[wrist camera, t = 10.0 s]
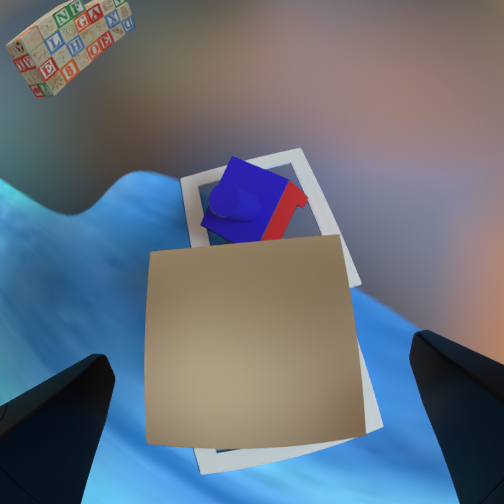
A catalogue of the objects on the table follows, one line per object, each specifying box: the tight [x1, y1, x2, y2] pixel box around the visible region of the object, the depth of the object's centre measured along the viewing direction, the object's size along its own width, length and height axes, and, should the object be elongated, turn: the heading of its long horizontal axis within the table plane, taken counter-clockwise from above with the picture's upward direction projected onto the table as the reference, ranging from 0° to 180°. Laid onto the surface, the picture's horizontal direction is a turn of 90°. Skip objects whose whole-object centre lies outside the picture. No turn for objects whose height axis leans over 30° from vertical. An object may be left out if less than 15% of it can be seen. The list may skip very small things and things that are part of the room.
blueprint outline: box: [181, 148, 384, 475], centre depth 18 cm, size 20×12×1 cm, turn 14°
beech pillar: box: [144, 234, 366, 449], centre depth 11 cm, size 4×4×11 cm
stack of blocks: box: [6, 0, 136, 98], centre depth 33 cm, size 21×6×12 cm, turn 157°
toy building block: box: [200, 156, 308, 244], centre depth 17 cm, size 4×4×8 cm
